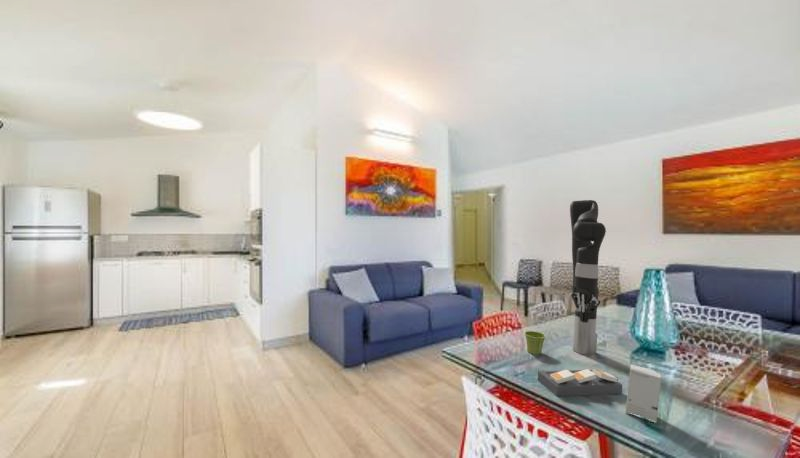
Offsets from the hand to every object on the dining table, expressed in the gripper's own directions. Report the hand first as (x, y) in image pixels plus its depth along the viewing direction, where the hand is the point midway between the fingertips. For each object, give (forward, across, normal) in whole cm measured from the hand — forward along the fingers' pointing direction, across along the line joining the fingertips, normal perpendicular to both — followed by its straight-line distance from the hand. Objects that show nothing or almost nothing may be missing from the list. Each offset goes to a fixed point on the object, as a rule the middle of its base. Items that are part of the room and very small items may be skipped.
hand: (583, 321), depth 122 cm
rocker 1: (+20, -2, +8) cm, 22 cm away
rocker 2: (+20, -2, 0) cm, 20 cm away
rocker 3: (+20, -2, -8) cm, 22 cm away
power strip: (+25, +1, -3) cm, 25 cm away
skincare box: (+25, -18, -8) cm, 32 cm away
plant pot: (+25, +34, -2) cm, 42 cm away
